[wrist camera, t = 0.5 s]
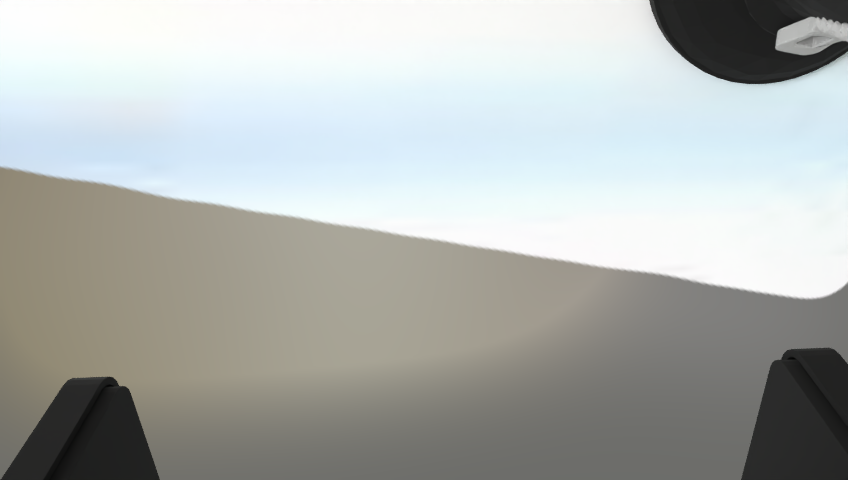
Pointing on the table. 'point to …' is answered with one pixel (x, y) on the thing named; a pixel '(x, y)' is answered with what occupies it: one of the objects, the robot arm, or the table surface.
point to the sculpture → (755, 36)
